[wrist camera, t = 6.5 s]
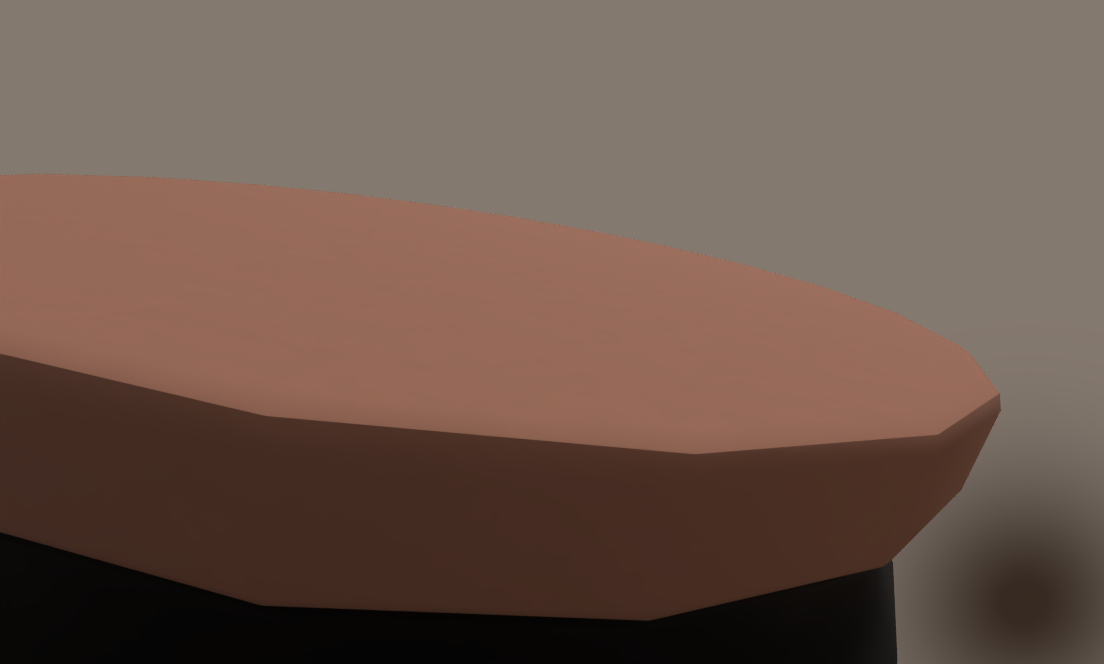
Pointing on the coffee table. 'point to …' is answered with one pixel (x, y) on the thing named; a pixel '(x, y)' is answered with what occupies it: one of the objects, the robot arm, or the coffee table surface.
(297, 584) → the coffee jar
